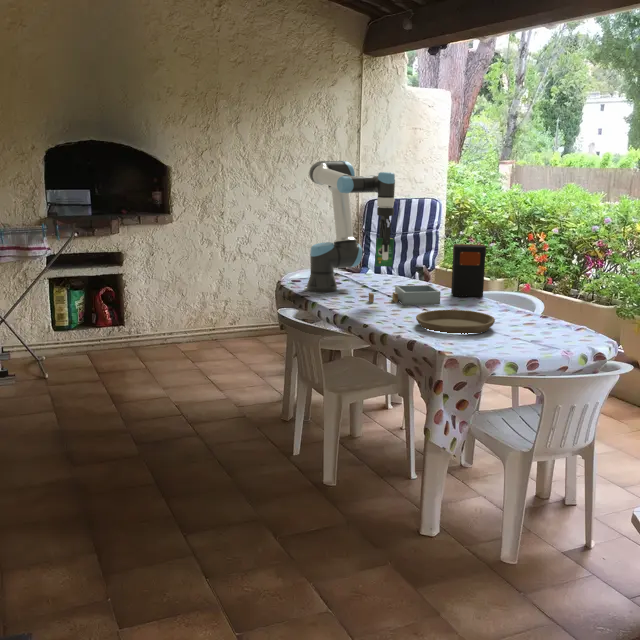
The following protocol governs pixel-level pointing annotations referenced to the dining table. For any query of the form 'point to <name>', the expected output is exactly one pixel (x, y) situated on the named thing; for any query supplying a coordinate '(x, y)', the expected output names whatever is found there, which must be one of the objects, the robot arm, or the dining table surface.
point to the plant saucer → (455, 321)
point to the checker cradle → (395, 297)
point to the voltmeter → (468, 270)
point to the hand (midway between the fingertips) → (384, 258)
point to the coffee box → (378, 254)
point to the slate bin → (418, 295)
